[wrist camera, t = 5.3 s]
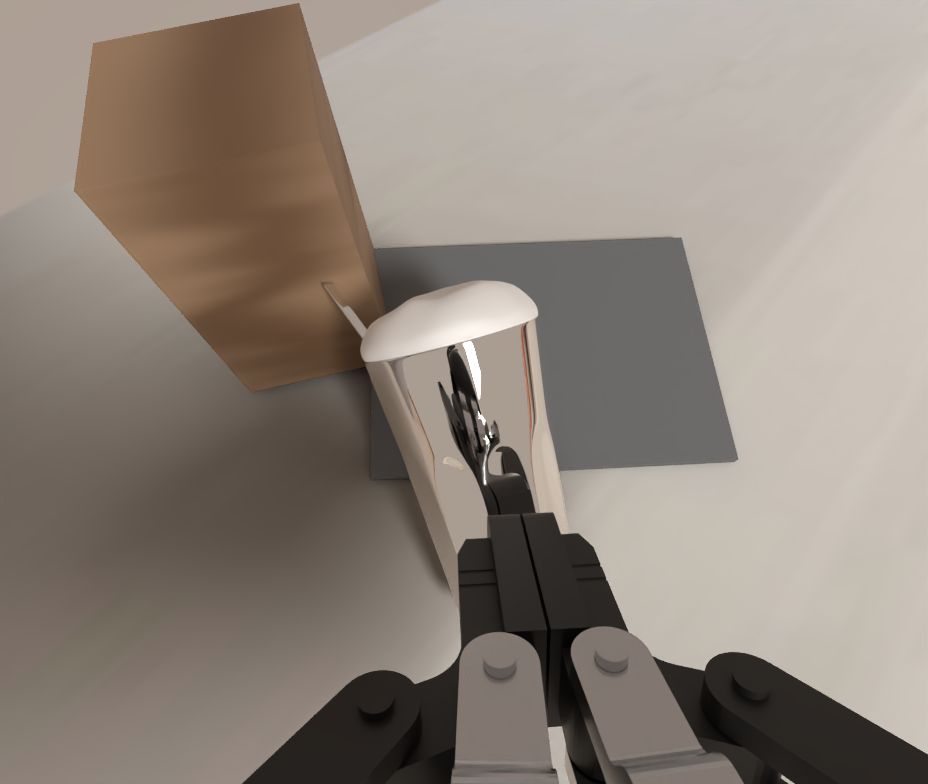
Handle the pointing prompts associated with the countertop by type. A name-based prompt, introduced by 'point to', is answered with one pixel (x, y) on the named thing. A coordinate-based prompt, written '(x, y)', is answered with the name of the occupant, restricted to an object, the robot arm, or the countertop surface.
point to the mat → (590, 347)
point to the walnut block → (233, 190)
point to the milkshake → (466, 407)
